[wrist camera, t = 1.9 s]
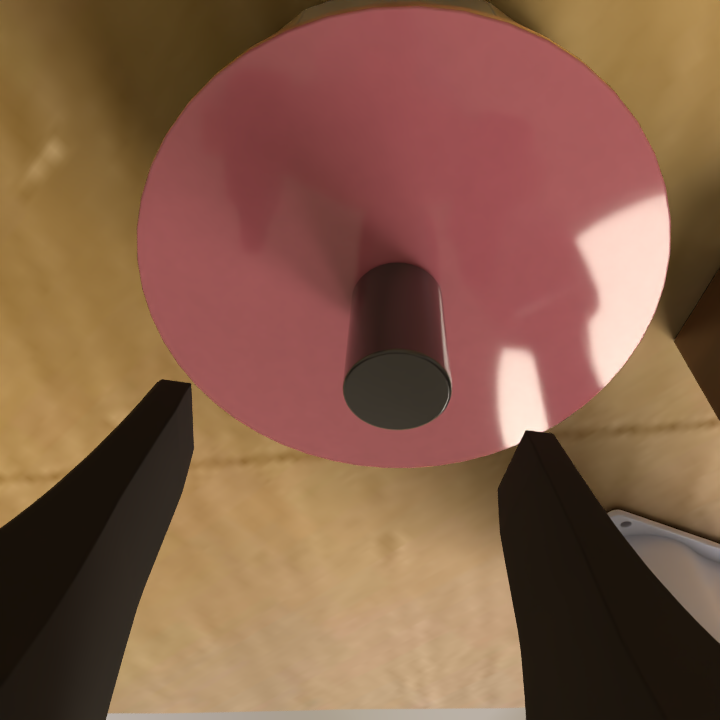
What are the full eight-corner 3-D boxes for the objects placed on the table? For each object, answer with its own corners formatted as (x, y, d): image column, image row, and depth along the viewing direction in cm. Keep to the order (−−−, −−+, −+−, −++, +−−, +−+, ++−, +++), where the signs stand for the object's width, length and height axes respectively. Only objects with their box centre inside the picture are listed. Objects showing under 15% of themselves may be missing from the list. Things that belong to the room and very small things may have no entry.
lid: (771, 59, 13) (917, 138, 9) (547, 467, 22) (577, 590, 18) (126, -63, 12) (10, -28, 8) (163, 414, 21) (114, 532, 17)
